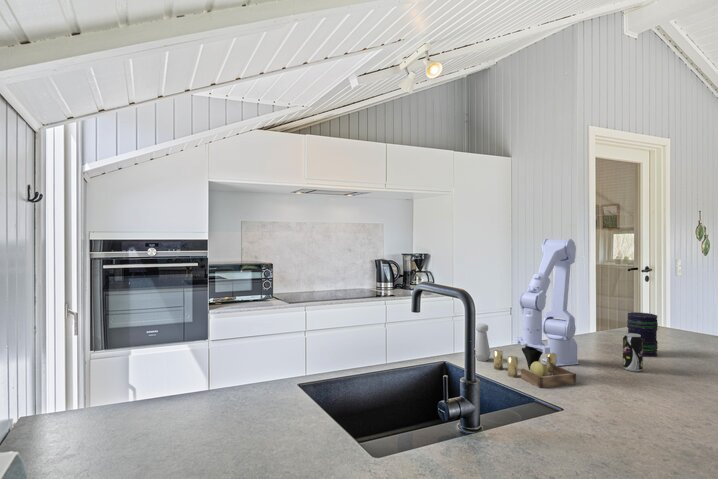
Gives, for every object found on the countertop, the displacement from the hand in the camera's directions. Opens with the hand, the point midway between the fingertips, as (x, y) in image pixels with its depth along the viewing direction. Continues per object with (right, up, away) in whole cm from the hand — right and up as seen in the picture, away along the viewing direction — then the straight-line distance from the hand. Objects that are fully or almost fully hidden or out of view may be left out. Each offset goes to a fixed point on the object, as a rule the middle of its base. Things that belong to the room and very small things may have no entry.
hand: (532, 370), depth 145 cm
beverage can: (+35, -1, +4) cm, 36 cm away
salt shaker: (-12, -1, +16) cm, 20 cm away
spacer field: (-1, -1, +4) cm, 4 cm away
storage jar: (+51, -1, +24) cm, 57 cm away
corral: (+2, -1, -7) cm, 7 cm away
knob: (+1, -1, -3) cm, 4 cm away
